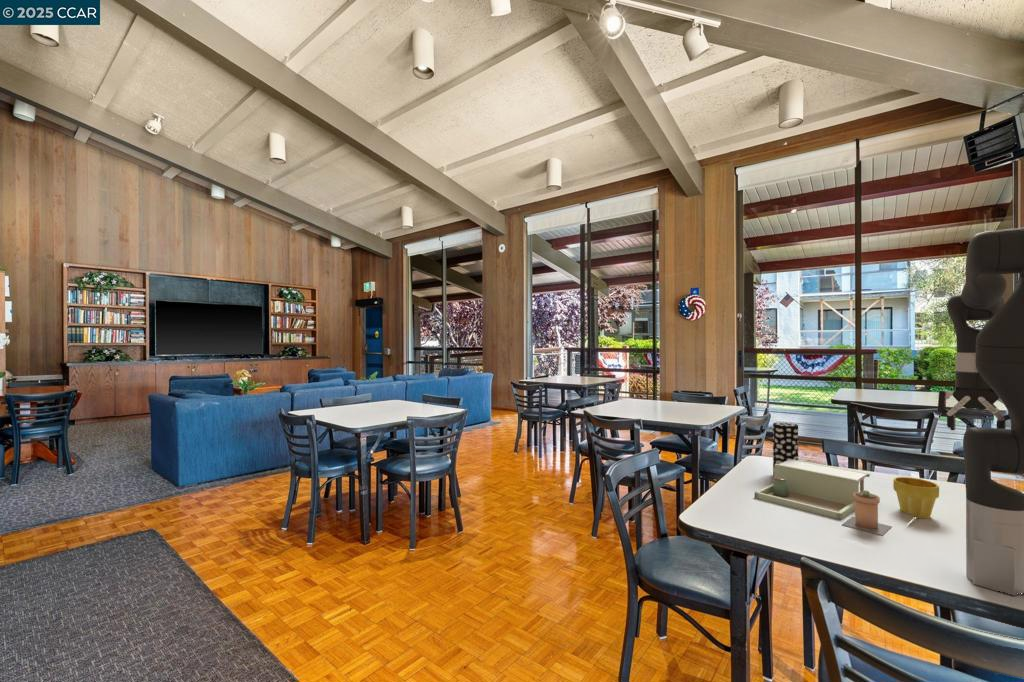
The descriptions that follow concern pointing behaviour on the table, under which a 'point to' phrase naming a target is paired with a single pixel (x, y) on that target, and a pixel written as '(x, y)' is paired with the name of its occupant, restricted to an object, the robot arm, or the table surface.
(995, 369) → the robot arm
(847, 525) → the slate tile
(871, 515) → the terracotta pot
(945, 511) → the table surface
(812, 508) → the tray with back shelf
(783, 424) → the white-spotted black cylinder
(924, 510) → the plant pot
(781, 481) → the green plastic pot
